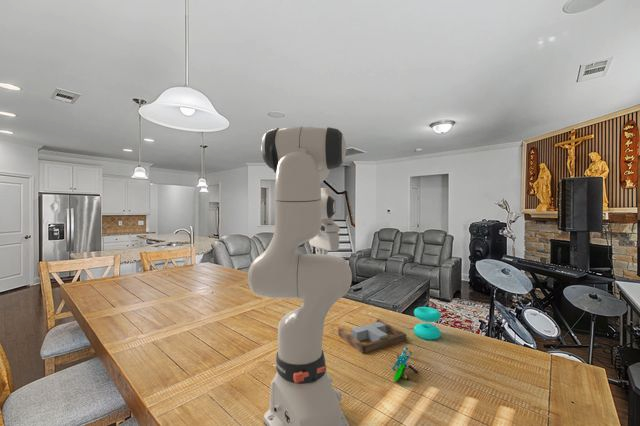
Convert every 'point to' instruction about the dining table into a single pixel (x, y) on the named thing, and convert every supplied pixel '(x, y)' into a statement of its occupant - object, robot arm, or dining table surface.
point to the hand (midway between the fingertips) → (323, 259)
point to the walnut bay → (374, 345)
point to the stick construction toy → (402, 366)
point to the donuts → (424, 328)
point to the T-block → (370, 332)
